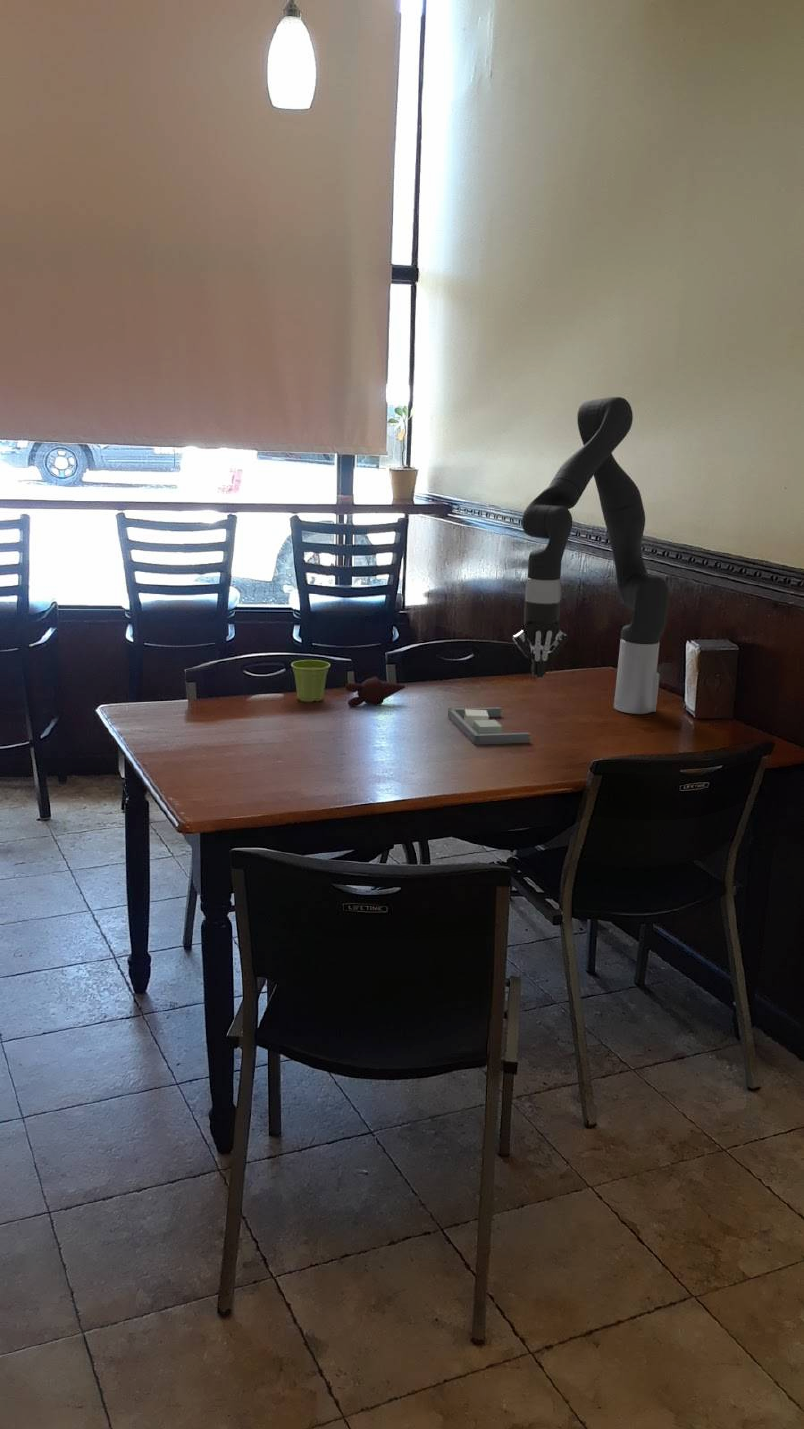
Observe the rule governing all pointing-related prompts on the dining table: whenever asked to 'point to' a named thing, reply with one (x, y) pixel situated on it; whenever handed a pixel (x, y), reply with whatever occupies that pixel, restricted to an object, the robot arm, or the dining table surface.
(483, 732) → the tile sage
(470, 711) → the tile cream
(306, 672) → the plant pot
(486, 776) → the dining table surface
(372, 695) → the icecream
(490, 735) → the grey u-shaped frame
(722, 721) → the dining table surface
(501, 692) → the dining table surface
